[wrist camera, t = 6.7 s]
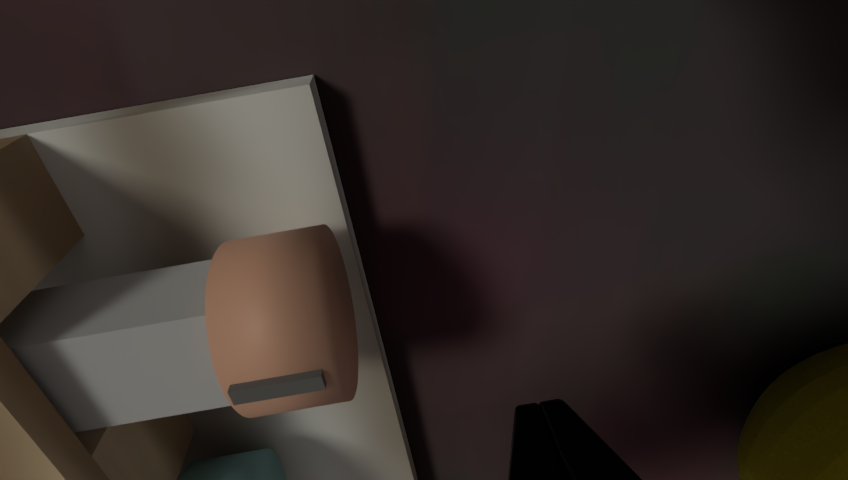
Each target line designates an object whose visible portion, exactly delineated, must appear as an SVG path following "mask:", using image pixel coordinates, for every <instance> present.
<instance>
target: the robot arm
mask: <svg viewBox="0 0 848 480" xmlns="http://www.w3.org/2000/svg"><path fill="white" fill-rule="evenodd" d="M508 480H642V479H641V478H640V477H639V476H638V475H637V474H636V473H635V472H634V471H633V470H632V469H631V468H630V467H629V466H628V465H627V464H626V463H625V462H624V461H623V460H622V459H621V458H620V457H619V456H618V455H617V454H616V453H615V452H614V451H613V450H612V449H611V448H610V447H609V446H608V445H607V444H606V443H605V442H604V441H603V440H602V439H601V438H600V437H599V436H598V435H597V434H596V433H595V432H594V431H593V430H592V429H591V428H590V427H589V426H588V425H587V424H586V423H585V422H584V421H583V420H582V419H581V418H580V417H579V416H578V415H577V414H576V413H575V412H574V411H573V410H572V409H571V408H570V407H569V406H568V405H567V404H566V403H565V402H564V401H563V400H561V399H555V400H549V401H543V402H540V403H539V405H538V404H536V403H531V404H525V405H519V406H517V407H516V408H515V414H514V424H513V433H512V443H511V453H510V462H509V472H508Z"/></svg>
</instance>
